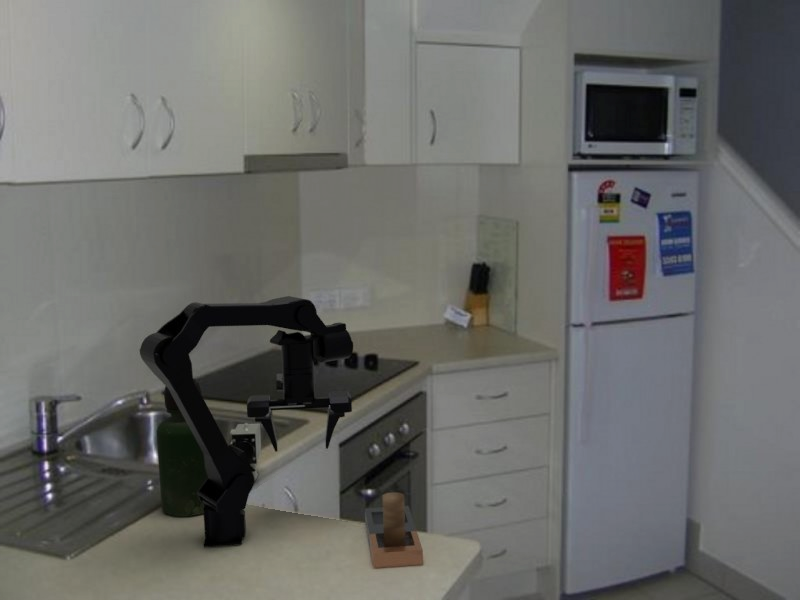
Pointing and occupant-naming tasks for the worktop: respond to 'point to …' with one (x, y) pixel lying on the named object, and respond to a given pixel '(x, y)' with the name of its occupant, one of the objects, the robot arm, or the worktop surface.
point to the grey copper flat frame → (392, 554)
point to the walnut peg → (394, 519)
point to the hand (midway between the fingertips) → (301, 449)
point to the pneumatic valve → (248, 442)
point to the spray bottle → (179, 463)
